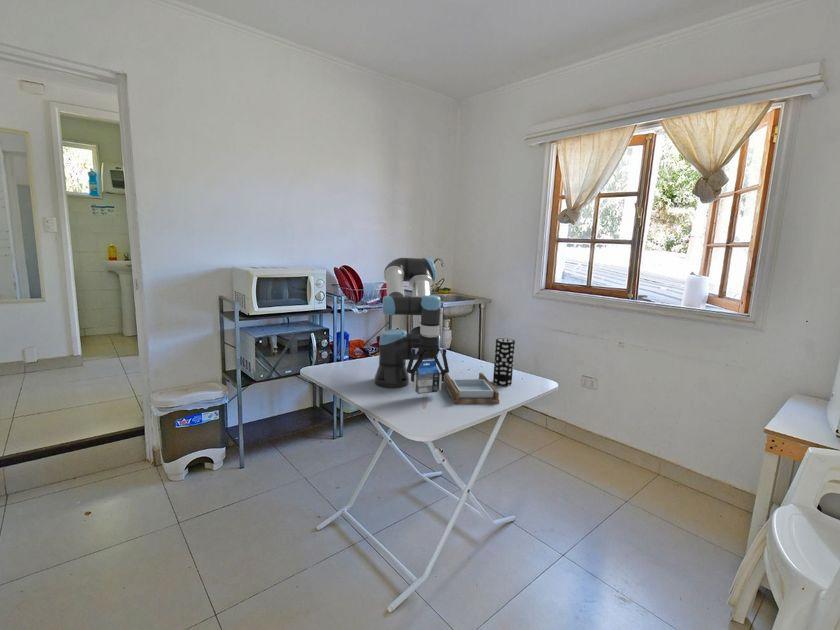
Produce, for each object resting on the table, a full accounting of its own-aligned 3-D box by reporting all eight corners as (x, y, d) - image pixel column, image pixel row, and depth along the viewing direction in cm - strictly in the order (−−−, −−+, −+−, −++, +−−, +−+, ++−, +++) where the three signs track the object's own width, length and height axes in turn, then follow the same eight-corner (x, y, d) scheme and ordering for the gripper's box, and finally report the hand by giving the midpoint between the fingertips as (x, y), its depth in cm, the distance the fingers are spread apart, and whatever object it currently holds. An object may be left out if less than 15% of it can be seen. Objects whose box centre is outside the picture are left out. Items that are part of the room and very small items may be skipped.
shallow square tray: (458, 398, 161) (459, 391, 160) (451, 386, 175) (452, 379, 174) (493, 398, 163) (493, 390, 162) (483, 385, 176) (484, 379, 176)
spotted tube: (502, 387, 180) (505, 343, 176) (489, 381, 187) (492, 339, 183) (515, 384, 184) (519, 341, 181) (502, 379, 191) (505, 337, 188)
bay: (454, 404, 159) (455, 393, 158) (443, 382, 184) (443, 372, 183) (499, 403, 161) (500, 392, 161) (482, 382, 186) (482, 372, 185)
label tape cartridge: (418, 394, 161) (419, 364, 159) (414, 391, 164) (415, 361, 162) (438, 392, 164) (440, 362, 162) (435, 388, 168) (436, 359, 165)
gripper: (455, 333, 165) (452, 385, 169) (400, 332, 162) (398, 385, 166) (459, 337, 158) (455, 392, 162) (402, 337, 155) (400, 392, 159)
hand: (427, 389), depth 164 cm, fingers closed on label tape cartridge, 9 cm apart
